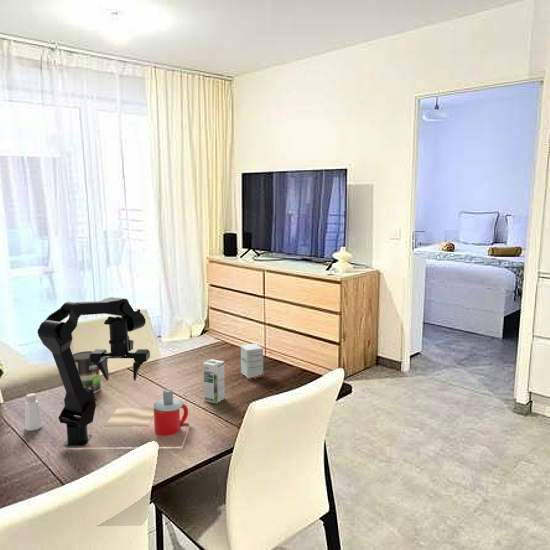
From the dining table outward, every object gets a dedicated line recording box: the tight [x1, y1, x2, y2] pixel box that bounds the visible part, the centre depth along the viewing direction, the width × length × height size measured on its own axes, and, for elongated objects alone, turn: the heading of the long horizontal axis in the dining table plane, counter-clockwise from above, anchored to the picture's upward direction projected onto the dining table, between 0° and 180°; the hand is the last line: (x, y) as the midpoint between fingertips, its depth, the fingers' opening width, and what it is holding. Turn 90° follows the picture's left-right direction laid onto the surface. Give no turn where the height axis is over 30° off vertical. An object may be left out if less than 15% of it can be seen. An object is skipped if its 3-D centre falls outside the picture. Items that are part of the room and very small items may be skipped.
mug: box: [153, 403, 189, 437], centre depth 153 cm, size 8×12×8 cm, turn 140°
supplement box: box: [240, 343, 264, 378], centre depth 198 cm, size 7×7×13 cm
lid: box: [153, 389, 184, 412], centre depth 152 cm, size 9×9×5 cm
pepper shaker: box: [24, 392, 43, 432], centre depth 154 cm, size 5×5×11 cm
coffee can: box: [72, 350, 102, 394], centre depth 183 cm, size 10×10×14 cm
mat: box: [104, 406, 154, 427], centre depth 161 cm, size 14×14×1 cm
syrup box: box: [202, 358, 226, 405], centre depth 174 cm, size 6×6×14 cm
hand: (121, 380), depth 161 cm, fingers open, 9 cm apart
